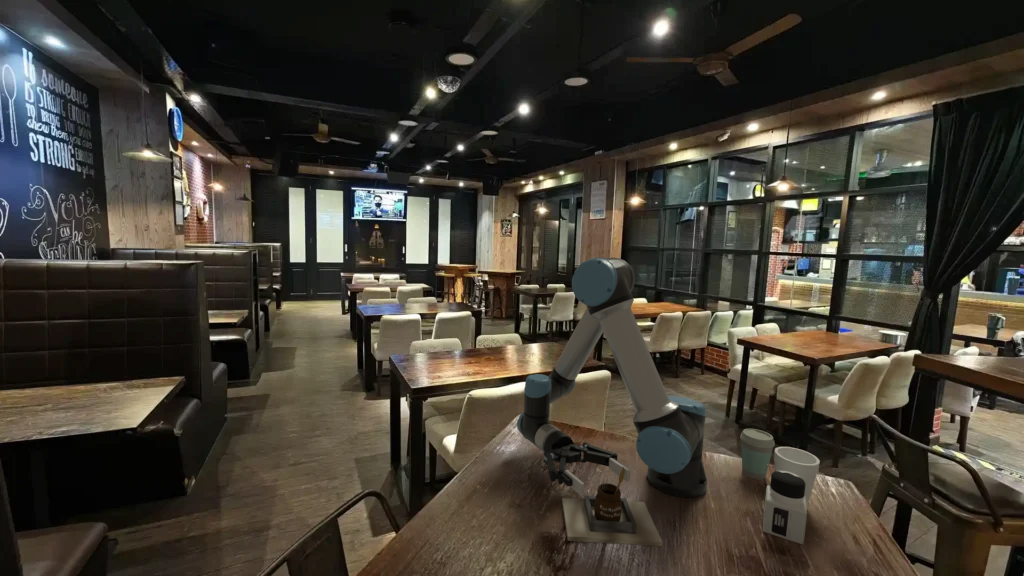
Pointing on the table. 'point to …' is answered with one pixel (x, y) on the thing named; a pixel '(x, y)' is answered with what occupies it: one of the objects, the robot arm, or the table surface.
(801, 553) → the table surface
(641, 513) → the collar board
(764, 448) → the coffee cup
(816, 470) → the foam cup
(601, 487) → the utensil holder
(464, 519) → the table surface
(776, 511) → the container
